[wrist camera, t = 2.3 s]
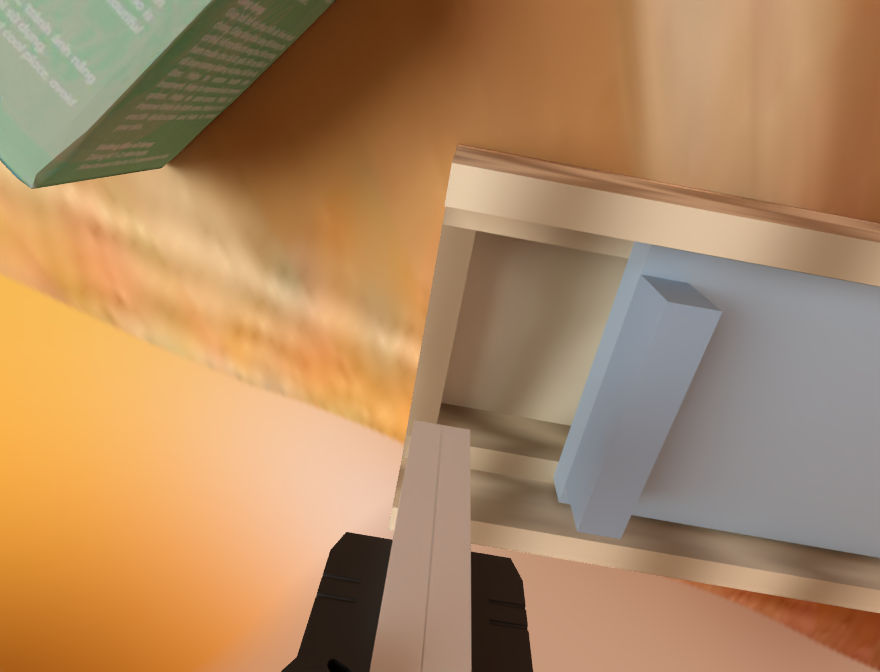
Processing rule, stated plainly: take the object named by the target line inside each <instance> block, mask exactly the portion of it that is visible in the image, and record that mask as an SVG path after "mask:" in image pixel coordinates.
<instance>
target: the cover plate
mask: <svg viewBox="0 0 880 672" xmlns="http://www.w3.org/2000/svg"><path fill="white" fill-rule="evenodd" d="M553 479H554V484H555V488H556V493H557V497H558V502H559V503H565V504H570V505H571V509H572V513H573V517H574V521H575V525H576V529H577V532H581V533H587V534H593V535H599V536H605V537H610V538H616V539H621V537H622V535H623V533H624V531H625V528H626V526H627V524H628V522H629V520H630V517H631V515H634V516H640V517H646V518H652V519H657V520H663V521H669V522H675V523H681V524H686V525H692V526H698V527H704V528H709V529H715V530H721V531H727V532H733V533H738V534H744V535H750V536H756V537H762V538H767V539H773V540H779V541H785V542H790V543H796V544H802V545H808V546H814V547H819V548H825V549H831V550H837V551H843V552H848V553H854V554H860V555H866V556H871V557H877V558H880V287H879V286H874V285H868V284H863V283H857V282H852V281H847V280H841V279H836V278H830V277H825V276H820V275H814V274H809V273H803V272H798V271H793V270H787V269H782V268H776V267H771V266H766V265H760V264H755V263H749V262H744V261H739V260H733V259H728V258H722V257H717V256H712V255H706V254H701V253H695V252H690V251H685V250H679V249H674V248H668V247H663V246H657V245H652V244H647V243H641V242H636V241H634V244H633V247H632V250H631V253H630V256H629V259H628V262H627V265H626V268H625V271H624V273H623V276H622V279H621V282H620V285H619V288H618V291H617V294H616V297H615V300H614V303H613V305H612V308H611V311H610V314H609V317H608V320H607V323H606V326H605V329H604V332H603V335H602V337H601V340H600V343H599V346H598V349H597V352H596V355H595V358H594V361H593V364H592V367H591V369H590V372H589V375H588V378H587V381H586V384H585V387H584V390H583V393H582V396H581V399H580V401H579V404H578V407H577V410H576V413H575V416H574V419H573V422H572V425H571V428H570V431H569V433H568V436H567V439H566V442H565V445H564V448H563V451H562V454H561V457H560V460H559V463H558V465H557V468H556V471H555V474H554V477H553Z"/></svg>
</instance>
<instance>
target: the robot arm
mask: <svg viewBox="0 0 880 672" xmlns="http://www.w3.org/2000/svg"><path fill="white" fill-rule="evenodd" d="M527 626H528V625H527V615H526V610H525V598H524V589H523V581H522V579H521V577H520V575H519V573H518V571H517V569H516V568H515V566H514V564H513V562H512V560H511V558H506V557H499V556H494V555H488V554H482V553H476V552H471V504H470V430H469V429H463V428H457V427H451V426H446V425H440V424H434V423H428V422H423V421H417V420H414V423H413V429H412V434H411V440H410V445H409V451H408V456H407V462H406V468H405V473H404V479H403V484H402V490H401V496H400V501H399V507H398V512H397V518H396V524H395V529H394V535H393V540H390V539H384V538H379V537H372V536H367V535H361V534H355V533H349V532H346V533H345V534H344V535H343V537H342V538H341V539H340V540H339V541H338V542H337V543H336V544H335V546H334V547H333V548H332V549H331V551H330V554H329V557H328V560H327V563H326V567H325V569H324V573H323V577H322V579H321V582H320V585H319V589H318V592H317V596H316V598H315V601H314V605H313V608H312V611H311V614H310V617H309V621H308V624H307V627H306V630H305V633H304V636H303V639H302V643H301V646H300V649H299V652H298V656H297V658H295V659H294V660H293V661H292V662H291V663H290V664H289V665H288V666H287V667H286V668H284V669H283V670H282V671H281V672H533V668H532V658H531V650H530V641H529V632H528V631H527Z"/></svg>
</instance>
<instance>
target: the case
mask: <svg viewBox="0 0 880 672" xmlns="http://www.w3.org/2000/svg"><path fill="white" fill-rule="evenodd" d="M445 206H446V208H445V214H444V220H443V225H442V231H441V237H440V243H439V248H438V254H437V260H436V266H435V271H434V277H433V283H432V289H431V294H430V300H429V306H428V312H427V317H426V323H425V329H424V335H423V340H422V346H421V352H420V358H419V363H418V369H417V375H416V381H415V386H414V392H413V398H412V404H411V409H410V415H409V421H408V427H407V433H406V438H405V444H404V450H403V456H402V461H401V466H400V471H399V476H398V482H397V487H396V492H395V497H394V502H393V507H392V513H391V519H390V525H389V530H394V529H395V524H396V518H397V512H398V507H399V501H400V496H401V490H402V484H403V479H404V473H405V468H406V462H407V456H408V451H409V445H410V440H411V434H412V429H413V423H414V420H417V421H423V422H428V423H434V424H440V425H446V426H451V427H457V428H463V429H469V430H470V504H471V544H478V545H483V546H489V547H494V548H500V549H506V550H512V551H518V552H524V553H530V554H536V555H541V556H547V557H553V558H559V559H565V560H570V561H576V562H582V563H589V564H594V565H600V566H606V567H612V568H617V569H623V570H629V571H635V572H641V573H647V574H653V575H659V576H664V577H670V578H676V579H682V580H688V581H694V582H700V583H705V584H711V585H717V586H723V587H729V588H735V589H741V590H747V591H752V592H758V593H764V594H770V595H776V596H782V597H788V598H793V599H799V600H805V601H811V602H817V603H823V604H829V605H835V606H840V607H846V608H852V609H858V610H864V611H870V612H876V613H880V558H877V557H871V556H866V555H860V554H854V553H848V552H843V551H837V550H831V549H825V548H819V547H814V546H808V545H802V544H796V543H790V542H785V541H779V540H773V539H767V538H762V537H756V536H750V535H744V534H738V533H733V532H727V531H721V530H715V529H709V528H704V527H698V526H692V525H686V524H681V523H675V522H669V521H663V520H657V519H652V518H646V517H640V516H634V515H631V517H630V520H629V522H628V524H627V526H626V528H625V531H624V533H623V535H622V537H621V539H616V538H610V537H605V536H599V535H593V534H587V533H581V532H577V529H576V525H575V521H574V517H573V513H572V509H571V505H570V504H565V503H559V502H558V497H557V493H556V488H555V484H554V479H553V477H554V474H555V471H556V468H557V465H558V463H559V460H560V457H561V454H562V451H563V448H564V445H565V442H566V439H567V436H568V433H569V431H570V428H571V425H572V422H573V419H574V416H575V413H576V410H577V407H578V404H579V401H580V399H581V396H582V393H583V390H584V387H585V384H586V381H587V378H588V375H589V372H590V369H591V367H592V364H593V361H594V358H595V355H596V352H597V349H598V346H599V343H600V340H601V337H602V335H603V332H604V329H605V326H606V323H607V320H608V317H609V314H610V311H611V308H612V305H613V303H614V300H615V297H616V294H617V291H618V288H619V285H620V282H621V279H622V276H623V273H624V271H625V268H626V265H627V262H628V259H629V256H630V253H631V250H632V247H633V244H634V241H636V242H641V243H647V244H652V245H657V246H663V247H668V248H674V249H679V250H685V251H690V252H695V253H701V254H706V255H712V256H717V257H722V258H728V259H733V260H739V261H744V262H749V263H755V264H760V265H766V266H771V267H776V268H782V269H787V270H793V271H798V272H803V273H809V274H814V275H820V276H825V277H830V278H836V279H841V280H847V281H852V282H857V283H863V284H868V285H874V286H879V287H880V223H875V222H870V221H865V220H859V219H854V218H849V217H843V216H838V215H833V214H827V213H822V212H817V211H812V210H806V209H801V208H796V207H790V206H785V205H780V204H774V203H769V202H764V201H758V200H753V199H748V198H742V197H737V196H732V195H726V194H721V193H716V192H710V191H705V190H700V189H694V188H689V187H684V186H678V185H673V184H668V183H662V182H657V181H652V180H646V179H641V178H636V177H631V176H625V175H620V174H615V173H609V172H604V171H599V170H593V169H588V168H583V167H577V166H572V165H567V164H561V163H556V162H551V161H545V160H540V159H535V158H529V157H524V156H519V155H513V154H508V153H503V152H497V151H492V150H487V149H481V148H476V147H471V146H465V145H460V144H458V145H457V149H456V152H455V155H454V158H453V161H452V166H451V172H450V177H449V183H448V189H447V195H446V201H445Z"/></svg>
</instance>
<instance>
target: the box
mask: <svg viewBox="0 0 880 672" xmlns="http://www.w3.org/2000/svg"><path fill="white" fill-rule="evenodd" d="M335 1H336V0H0V161H1V162H2V163H3V164H4V165H5V166H6V167H7V168H8V169H9V170H10V171H11V172H12V173H13V174H14V175H15V176H16V177H17V178H18V179H19V180H20V181H22V182H23V183H24V184H26V185H27V186H28V187H30V188H31V189H34V188H41V187H47V186H53V185H59V184H65V183H71V182H77V181H84V180H90V179H96V178H102V177H108V176H115V175H121V174H127V173H133V172H140V171H146V170H152V169H159V168H162V167H163V166H165V165H166V164H167V163H168V162H170V161H171V160H172V159H173V158H174V157H176V156H177V155H178V154H179V153H180V152H181V151H182V150H183V149H184V148H185V147H186V146H187V145H188V144H189V143H190V142H191V141H192V140H193V139H194V138H195V137H196V136H197V135H198V134H199V133H200V132H201V131H202V130H203V129H204V128H205V127H206V126H207V125H209V124H210V123H211V122H212V121H213V120H214V119H215V118H216V117H217V116H218V115H219V114H221V113H222V112H223V111H224V110H225V109H226V108H227V107H228V106H229V105H230V104H231V103H233V102H234V101H235V100H236V99H237V98H238V97H239V96H240V95H241V94H242V93H243V92H244V91H245V90H246V89H247V88H248V87H249V86H250V85H251V84H252V83H253V82H254V81H255V80H256V79H257V78H258V77H259V76H260V75H261V74H262V73H263V72H264V71H265V70H266V69H267V68H268V67H269V66H270V65H272V64H273V63H274V62H275V61H276V60H277V59H278V58H279V57H280V56H281V55H282V54H283V53H284V52H285V51H286V50H287V49H288V48H289V47H290V46H291V45H292V44H293V43H294V42H295V41H296V40H297V39H298V38H299V37H300V36H301V35H302V34H303V33H304V32H305V31H306V30H307V29H308V28H309V27H310V26H311V25H312V24H313V23H314V22H315V21H316V20H317V19H318V18H319V17H320V16H321V15H322V14H323V13H324V12H325V11H326V10H327V9H328V8H329V7H330V6H331V5H332V4H333V3H334V2H335Z"/></svg>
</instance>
